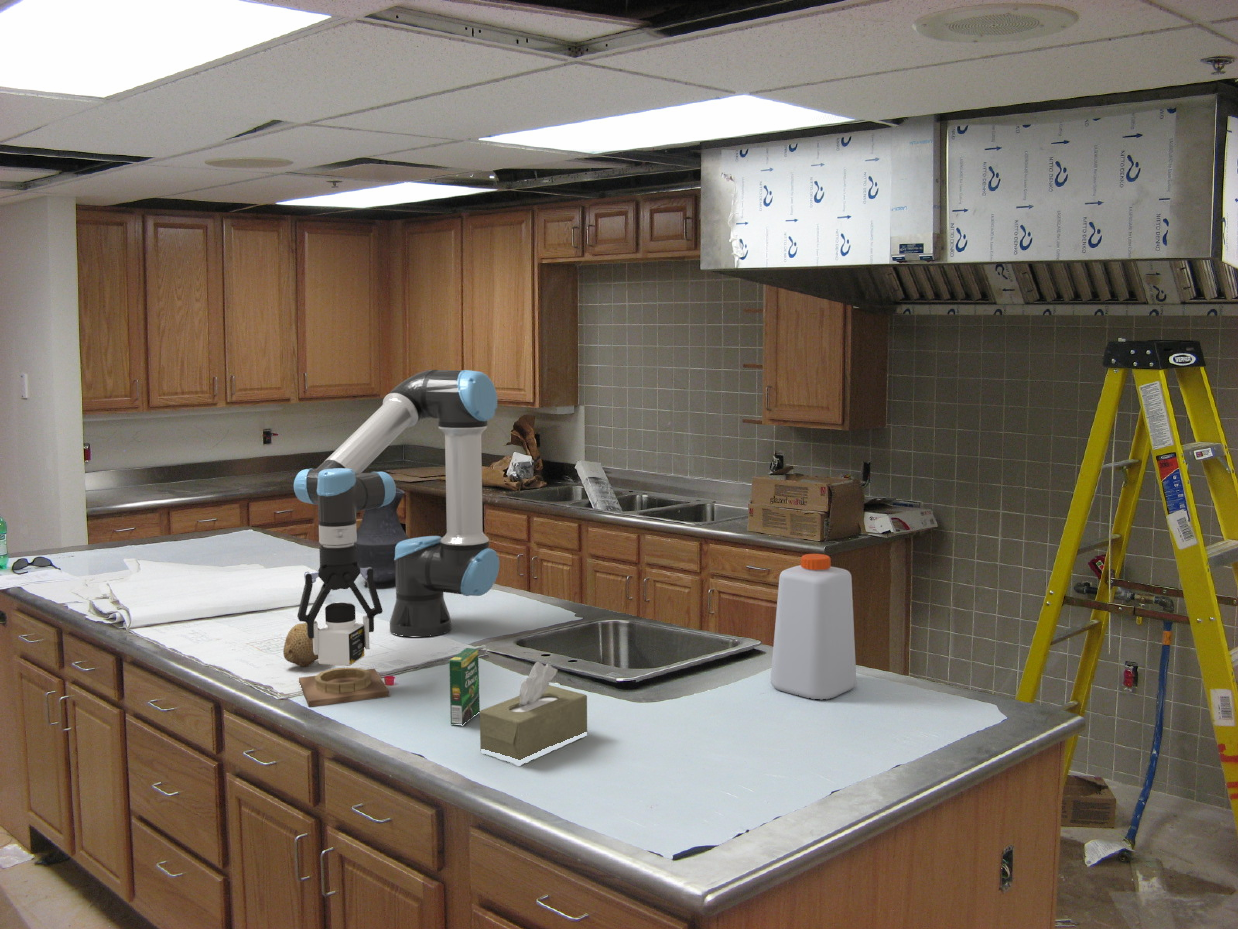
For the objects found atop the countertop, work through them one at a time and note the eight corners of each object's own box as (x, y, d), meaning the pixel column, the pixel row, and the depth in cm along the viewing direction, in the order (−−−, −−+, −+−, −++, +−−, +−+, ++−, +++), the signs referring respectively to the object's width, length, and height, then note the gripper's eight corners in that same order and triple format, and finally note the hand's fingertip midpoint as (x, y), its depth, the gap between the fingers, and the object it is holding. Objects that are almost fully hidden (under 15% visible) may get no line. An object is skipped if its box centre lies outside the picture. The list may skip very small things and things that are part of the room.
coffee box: (463, 727, 209) (461, 660, 208) (449, 726, 210) (447, 659, 208) (481, 713, 217) (479, 648, 215) (467, 712, 218) (466, 647, 216)
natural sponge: (336, 663, 249) (334, 620, 247) (309, 675, 241) (308, 630, 239) (304, 658, 252) (302, 616, 251) (277, 670, 244) (275, 626, 243)
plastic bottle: (762, 688, 231) (764, 556, 228) (802, 671, 242) (805, 545, 239) (824, 705, 221) (827, 567, 218) (863, 686, 232) (867, 555, 229)
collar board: (374, 673, 241) (374, 660, 241) (389, 696, 227) (388, 682, 226) (299, 683, 235) (298, 669, 235) (308, 707, 221) (308, 692, 220)
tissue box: (518, 768, 190) (517, 679, 188) (478, 754, 196) (476, 668, 194) (588, 736, 205) (588, 653, 203) (549, 724, 211) (548, 644, 209)
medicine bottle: (350, 666, 226) (348, 609, 224) (317, 664, 227) (315, 607, 226) (365, 656, 233) (363, 600, 231) (333, 654, 234) (331, 599, 233)
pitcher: (404, 592, 314) (401, 488, 311) (331, 592, 315) (327, 488, 311) (416, 578, 332) (413, 479, 328) (346, 578, 332) (343, 479, 328)
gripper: (283, 551, 219) (287, 661, 222) (396, 543, 228) (398, 649, 231) (279, 545, 226) (283, 651, 229) (389, 537, 235) (391, 639, 237)
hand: (341, 650), depth 230 cm, fingers closed on medicine bottle, 10 cm apart
